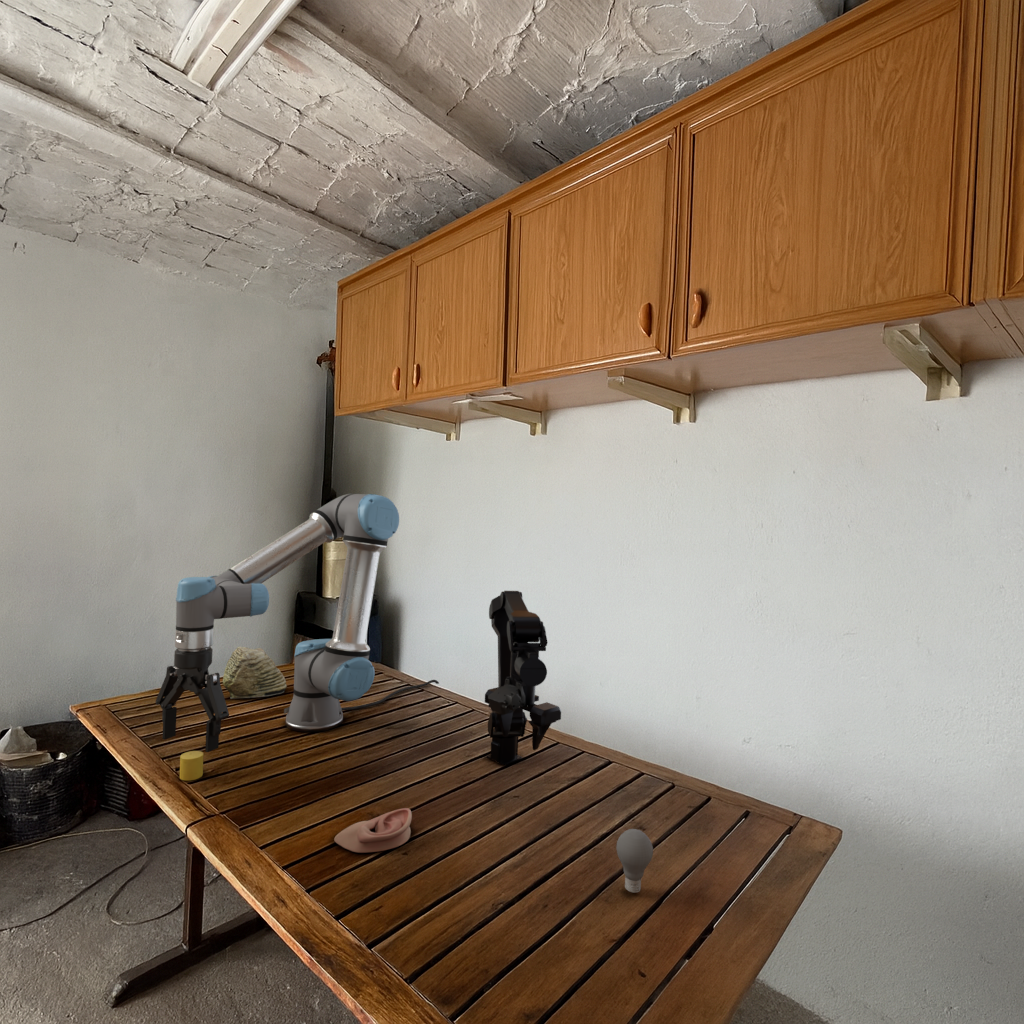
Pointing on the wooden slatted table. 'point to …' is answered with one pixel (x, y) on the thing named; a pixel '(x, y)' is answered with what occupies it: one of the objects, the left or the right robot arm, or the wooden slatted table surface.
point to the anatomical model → (377, 832)
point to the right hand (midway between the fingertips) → (520, 743)
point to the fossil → (252, 674)
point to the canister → (191, 765)
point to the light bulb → (634, 857)
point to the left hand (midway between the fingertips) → (190, 743)
